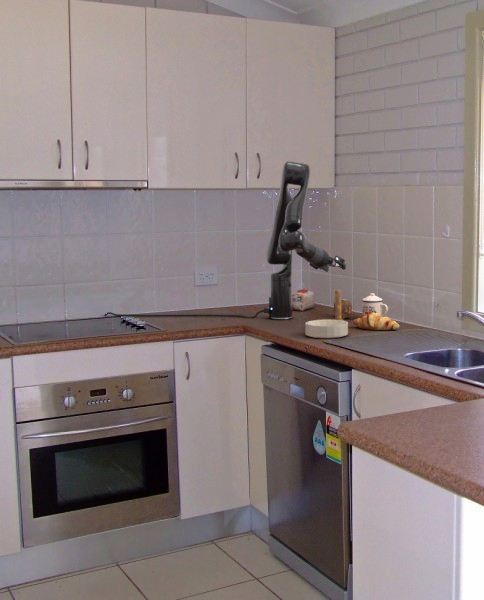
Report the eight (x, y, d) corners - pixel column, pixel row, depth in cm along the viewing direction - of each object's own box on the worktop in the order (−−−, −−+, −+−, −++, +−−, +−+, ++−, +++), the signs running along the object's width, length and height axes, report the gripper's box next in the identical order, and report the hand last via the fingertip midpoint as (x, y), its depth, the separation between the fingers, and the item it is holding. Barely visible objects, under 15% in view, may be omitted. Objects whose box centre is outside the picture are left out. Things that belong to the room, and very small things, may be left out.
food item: (303, 311, 394) (303, 290, 392) (288, 310, 397) (288, 290, 395) (316, 308, 406) (316, 287, 405) (301, 307, 409) (301, 287, 408)
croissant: (401, 337, 341) (405, 319, 344) (393, 329, 333) (397, 310, 335) (354, 333, 350) (359, 315, 353) (345, 325, 342) (349, 306, 344)
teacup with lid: (358, 320, 366) (358, 293, 365) (367, 317, 374) (367, 291, 373) (383, 322, 361) (383, 295, 359) (392, 319, 369) (392, 293, 367)
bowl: (297, 337, 323) (297, 324, 322) (317, 331, 338) (316, 318, 337) (337, 340, 316) (337, 327, 316) (354, 333, 332) (354, 321, 331)
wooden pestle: (331, 329, 341) (330, 290, 339) (335, 328, 345) (335, 289, 343) (340, 330, 339) (340, 291, 337) (345, 329, 343) (345, 290, 341)
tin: (333, 315, 381) (333, 297, 380) (339, 315, 382) (339, 296, 381) (346, 320, 367) (346, 301, 366) (353, 319, 369) (353, 300, 368)
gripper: (330, 244, 339) (351, 258, 352) (301, 248, 346) (323, 262, 359) (329, 262, 337) (349, 275, 350) (299, 265, 344) (321, 278, 357)
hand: (336, 268), depth 355 cm, fingers open, 8 cm apart
